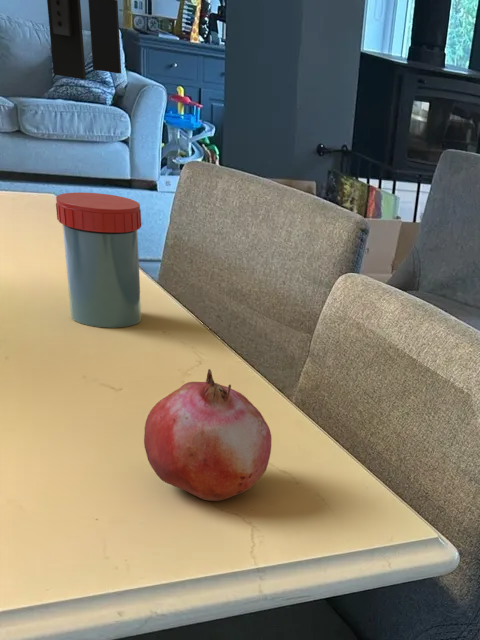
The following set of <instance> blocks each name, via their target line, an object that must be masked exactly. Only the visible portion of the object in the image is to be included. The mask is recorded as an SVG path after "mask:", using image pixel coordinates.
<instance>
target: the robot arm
mask: <svg viewBox="0 0 480 640" xmlns="http://www.w3.org/2000/svg"><path fill="white" fill-rule="evenodd" d="M46 2H47V3H46V4H47V17H48V27H49V38H50V49H51V61H52V71H53V73H52V74H53V75H54V76H60V77H65V78H66V77H67V78H73V79H74V78H75V79H79V80H80V79H81V80H87V78H86V77H87V75H86V62H85V61H86V60H85V47H84V33H83V22H82V21H83V19H82V5H81V0H46ZM87 3H88V15H89V28H90V45H91V59H92V70H94V71H98V72H99V71H100V72H105V73H106V72H107V73H113V74H122V60H121V59H122V58H121V40H120V21H119V3H118V0H88V2H87Z"/></svg>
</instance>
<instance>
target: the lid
mask: <svg viewBox="0 0 480 640" xmlns="http://www.w3.org/2000/svg"><path fill="white" fill-rule="evenodd" d="M55 200H56V203H55V207H56V219H57V221H58V222H59V223H60V224H61V225H62V226H63V225H66V226H68V227H72V228H76V229H81V230H87V231H94V232H109V233H121V232H131V231H136V230H137V231H139V230H140V229H141V227H142V212H141V211H142V210H141V204H140V202H138V201H136V200H134V199H131V198H127V197H124V196H119V195H115V194H108V193H101V192H100V193H97V192H65V193H61V194H58V195H57V196H56V197H55Z"/></svg>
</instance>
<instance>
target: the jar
mask: <svg viewBox="0 0 480 640" xmlns="http://www.w3.org/2000/svg"><path fill="white" fill-rule="evenodd" d="M62 231H63V232H62V234H63V244H64V255H65V265H66V266H65V267H66V278H67V279H66V280H67V289H68V301H69V311H70V318H71V319H72V320H73V321H75V322H76V323H79V324H82V325H85V326H90V327H97V328H106V329H107V328H109V329H111V328H112V329H113V328H114V329H115V328H127V327H132V326H135V325H138V324H139V323H140V322H141V321H142V301H141V300H142V299H141V280H140V279H141V278H140V263H139V262H140V259H139V238H138V230H136V231H131V232H121V233H109V232H94V231H87V230H81V229H76V228H72V227H68V226H66V225H63V224H62Z"/></svg>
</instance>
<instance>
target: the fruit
mask: <svg viewBox="0 0 480 640" xmlns="http://www.w3.org/2000/svg"><path fill="white" fill-rule="evenodd" d="M143 445H144V450H145V454H146V458H147V462H148V463H149V465H150V467H151V469H152V470H153V471H154V473H155V475H157V477H158V478H159V479H160V480H161V481H162V482H163V483H166V484H168V485H171V486H173V487H176V488H178V489H181V490H183V491H185V492H188V493H189V494H191V495H193V496H195V497H198V498H199V499H200V500H203V501H210V502H214V501H216V502H217V501H224V500H227V499H229V498H232V497H234V496H237V495H241V494H243V493H245V492H246V491H248V490H250V489H251V488H252V487H253V486H255V484H256V483H257V482H258V481H259V479H261V477H262V476H263V475H264V474H265V472H266V471H267V469H268V465H269V463H270V458H271V453H272V433H271V429H270V427H269V425H268V423H267V421H266V420H265V418H264V416H263V415H262V413H261V411H260V410H259V409H258V408H257V407H256V406H255V405H254V404H253V403H252V402H251V401H250V400H249V399H248V397H246V396H245V395H244V394H243V393H241V392H239V391H237V390H235V389H233V388H232V384H228V386H226V385H223V384H220V383H217V382H215V380H214V378H213V372H212V370H211V369H210V368H208V369H207V374H206V379H205V381H188V382H186V383H184V384H182V385H181V386H180V387H179V388H177V389H175V390H174V391H173V392H171V393H169V394H168V395H166V396H165V397H163V398H162V399H160V400H159V401H157V403H156V404H155V405H154V406H153V407H152V408H151V410H150V411H149V412H148V415H147V417H146V419H145V425H144V435H143Z"/></svg>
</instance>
